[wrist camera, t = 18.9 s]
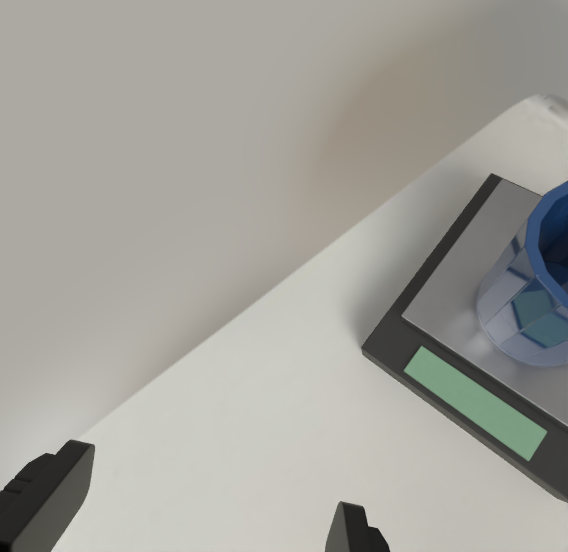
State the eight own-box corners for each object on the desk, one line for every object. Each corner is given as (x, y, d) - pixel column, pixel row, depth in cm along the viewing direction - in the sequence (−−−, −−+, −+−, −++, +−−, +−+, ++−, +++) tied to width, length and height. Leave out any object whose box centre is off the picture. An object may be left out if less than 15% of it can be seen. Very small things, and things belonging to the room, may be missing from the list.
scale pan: (400, 319, 26) (400, 315, 25) (498, 186, 28) (502, 178, 27) (591, 447, 21) (601, 448, 20) (695, 277, 23) (708, 271, 22)
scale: (362, 354, 29) (360, 347, 26) (481, 193, 31) (492, 170, 28) (557, 499, 23) (581, 508, 20) (684, 290, 26) (721, 274, 23)
